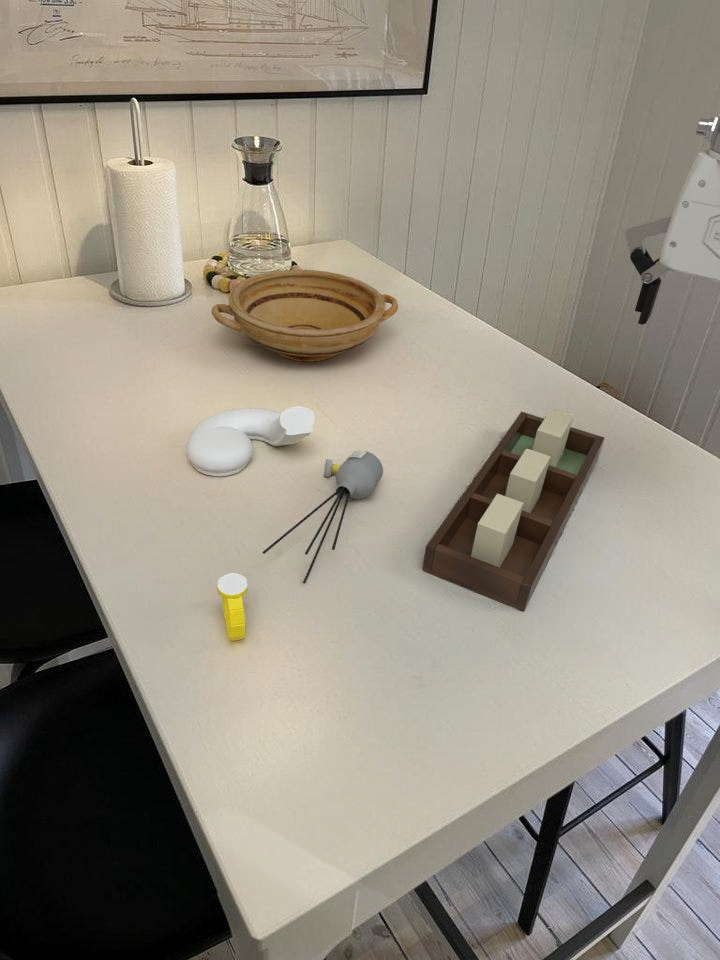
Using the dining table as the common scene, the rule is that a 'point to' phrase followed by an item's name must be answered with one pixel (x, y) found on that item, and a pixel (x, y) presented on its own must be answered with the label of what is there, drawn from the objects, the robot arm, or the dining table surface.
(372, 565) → the dining table surface
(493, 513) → the block
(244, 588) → the watch
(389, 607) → the dining table surface
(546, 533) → the tray
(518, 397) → the dining table surface
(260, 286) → the ceramic bowl
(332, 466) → the reed diffuser
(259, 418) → the sculpture
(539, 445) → the cream rectangular block
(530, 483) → the block
